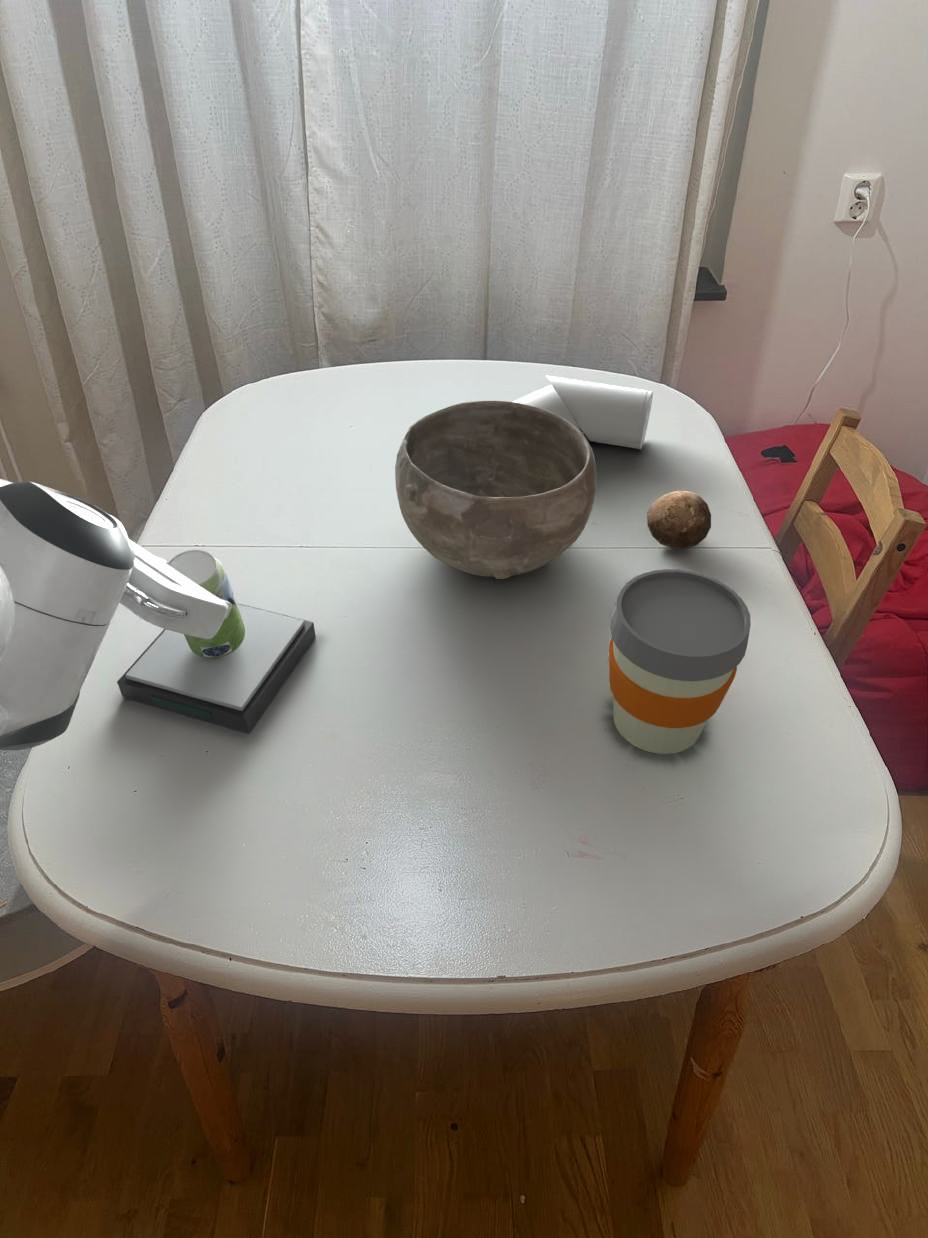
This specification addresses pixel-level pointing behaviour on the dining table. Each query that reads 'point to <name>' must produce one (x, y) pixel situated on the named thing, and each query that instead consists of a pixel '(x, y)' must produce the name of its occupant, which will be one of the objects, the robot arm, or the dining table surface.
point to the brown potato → (679, 519)
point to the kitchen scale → (221, 671)
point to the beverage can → (215, 580)
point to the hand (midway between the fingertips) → (195, 589)
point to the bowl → (495, 486)
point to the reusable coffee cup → (673, 656)
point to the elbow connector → (597, 409)
